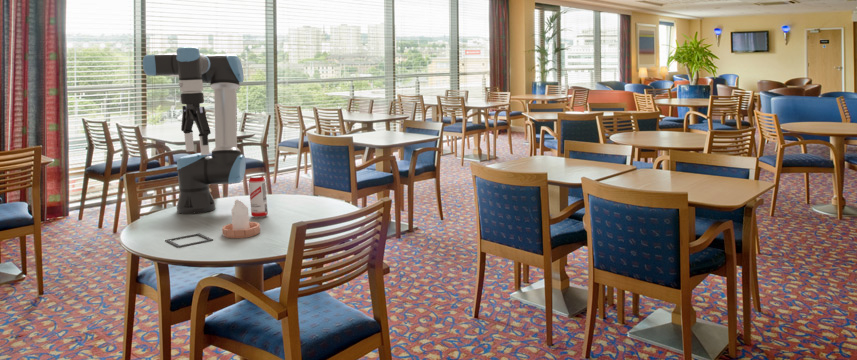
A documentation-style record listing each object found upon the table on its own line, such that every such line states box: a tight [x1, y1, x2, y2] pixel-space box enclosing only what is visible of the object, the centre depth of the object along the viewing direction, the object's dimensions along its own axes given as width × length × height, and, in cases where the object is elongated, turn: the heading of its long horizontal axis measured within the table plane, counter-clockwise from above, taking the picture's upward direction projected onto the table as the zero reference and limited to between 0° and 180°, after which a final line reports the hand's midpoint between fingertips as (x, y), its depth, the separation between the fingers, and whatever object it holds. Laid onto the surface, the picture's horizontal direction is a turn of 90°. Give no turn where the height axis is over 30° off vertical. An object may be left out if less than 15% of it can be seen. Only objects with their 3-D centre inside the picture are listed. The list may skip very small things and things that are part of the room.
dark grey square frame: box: [164, 232, 214, 248], centre depth 230 cm, size 12×12×1 cm
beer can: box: [248, 174, 269, 219], centre depth 261 cm, size 6×6×16 cm
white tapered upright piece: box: [231, 199, 250, 230], centre depth 236 cm, size 6×12×6 cm
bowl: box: [221, 221, 261, 239], centre depth 237 cm, size 13×13×3 cm
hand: (197, 152), depth 236 cm, fingers open, 13 cm apart
